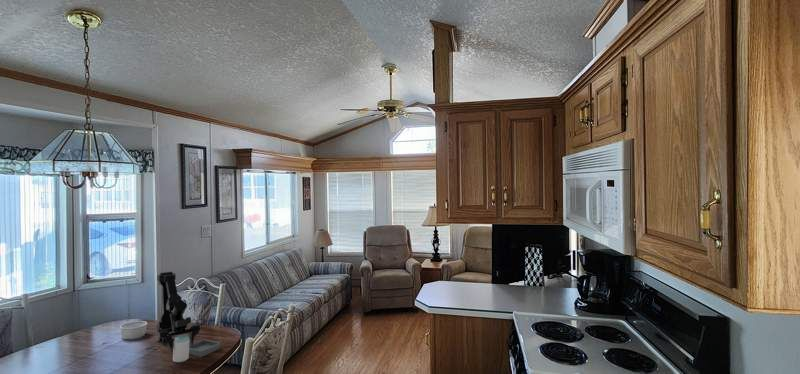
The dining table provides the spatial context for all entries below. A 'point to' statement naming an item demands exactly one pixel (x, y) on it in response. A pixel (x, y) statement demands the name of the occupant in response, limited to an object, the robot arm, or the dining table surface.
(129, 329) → the ramekin
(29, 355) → the dining table surface
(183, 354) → the can
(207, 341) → the bin
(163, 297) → the robot arm
